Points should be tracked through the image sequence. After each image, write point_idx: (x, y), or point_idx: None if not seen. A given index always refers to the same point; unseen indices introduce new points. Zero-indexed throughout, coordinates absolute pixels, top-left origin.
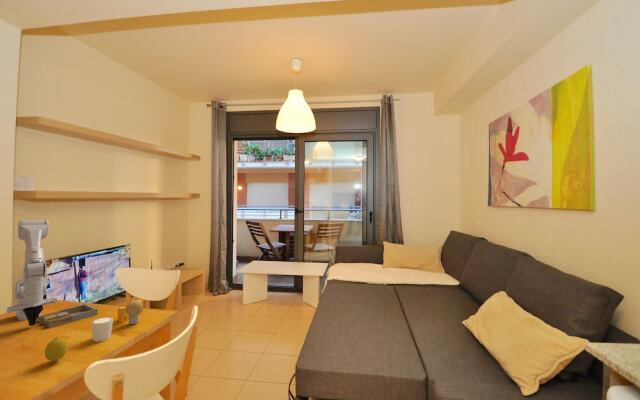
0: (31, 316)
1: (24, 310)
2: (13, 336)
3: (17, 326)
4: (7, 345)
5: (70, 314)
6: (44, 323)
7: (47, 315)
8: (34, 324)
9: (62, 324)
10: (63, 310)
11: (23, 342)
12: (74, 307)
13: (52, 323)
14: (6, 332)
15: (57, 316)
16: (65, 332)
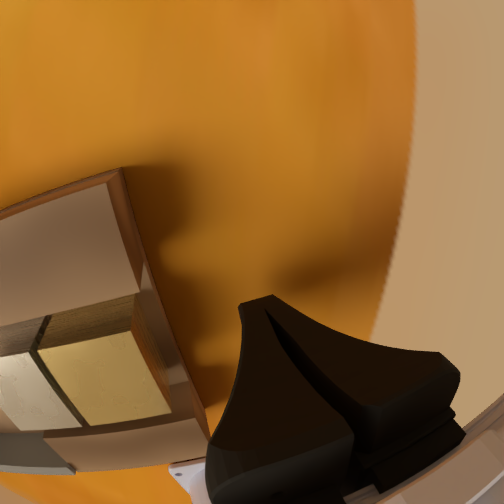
0: (331, 347)
1: (446, 418)
2: (367, 215)
3: None
4: (409, 47)
5: None
6: (157, 346)
7: (144, 437)
8: (246, 305)
9: (11, 208)
10: (52, 462)
11: (334, 5)
12: (1, 463)
13: (78, 187)
14: (369, 331)
15: (42, 353)
16: (30, 2)
